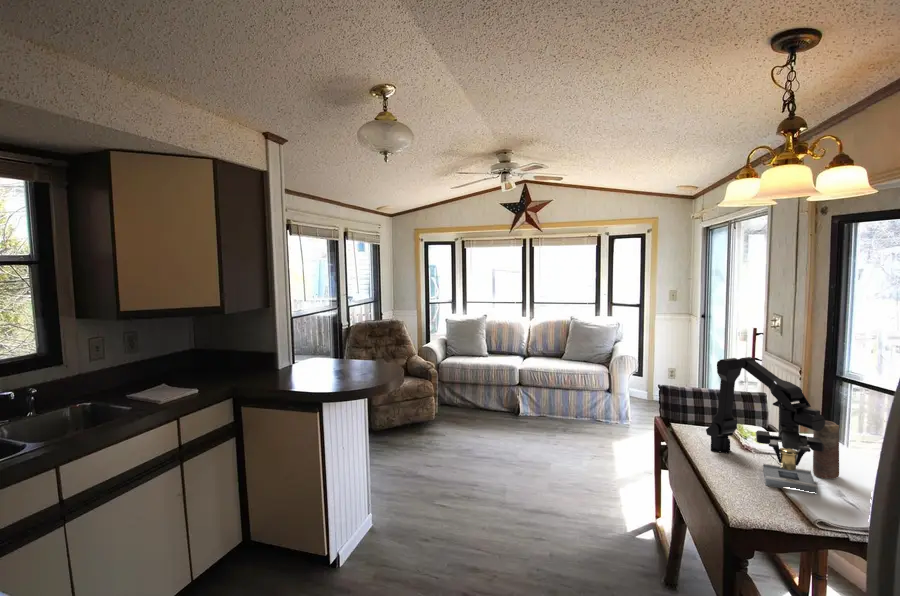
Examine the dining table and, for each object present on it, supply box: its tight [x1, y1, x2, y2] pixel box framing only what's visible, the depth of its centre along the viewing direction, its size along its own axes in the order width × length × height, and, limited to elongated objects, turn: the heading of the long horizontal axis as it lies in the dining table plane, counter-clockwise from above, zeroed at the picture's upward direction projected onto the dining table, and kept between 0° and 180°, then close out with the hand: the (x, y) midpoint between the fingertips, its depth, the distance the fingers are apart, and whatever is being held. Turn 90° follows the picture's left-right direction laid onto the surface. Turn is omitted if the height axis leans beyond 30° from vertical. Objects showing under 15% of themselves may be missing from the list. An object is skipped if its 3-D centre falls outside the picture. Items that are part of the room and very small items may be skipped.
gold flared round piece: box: [779, 447, 798, 470], centre depth 159 cm, size 5×5×6 cm
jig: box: [762, 462, 818, 493], centre depth 159 cm, size 14×12×3 cm
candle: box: [812, 419, 840, 480], centre depth 162 cm, size 8×7×20 cm
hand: (788, 463), depth 159 cm, fingers closed on gold flared round piece, 4 cm apart
